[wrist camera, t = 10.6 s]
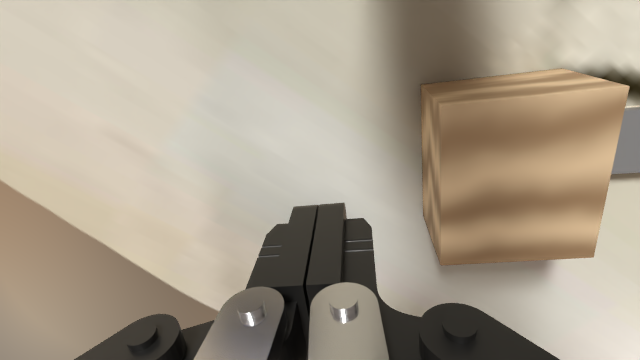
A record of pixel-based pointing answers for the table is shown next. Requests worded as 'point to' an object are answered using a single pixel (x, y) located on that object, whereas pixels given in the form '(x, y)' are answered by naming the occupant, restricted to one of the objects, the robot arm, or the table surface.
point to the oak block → (518, 164)
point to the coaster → (628, 143)
